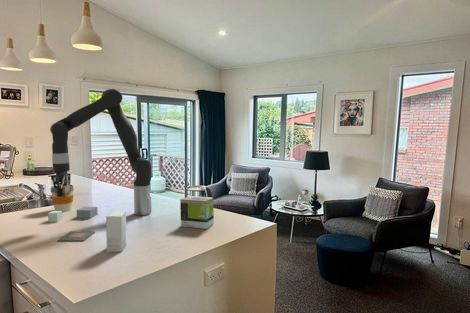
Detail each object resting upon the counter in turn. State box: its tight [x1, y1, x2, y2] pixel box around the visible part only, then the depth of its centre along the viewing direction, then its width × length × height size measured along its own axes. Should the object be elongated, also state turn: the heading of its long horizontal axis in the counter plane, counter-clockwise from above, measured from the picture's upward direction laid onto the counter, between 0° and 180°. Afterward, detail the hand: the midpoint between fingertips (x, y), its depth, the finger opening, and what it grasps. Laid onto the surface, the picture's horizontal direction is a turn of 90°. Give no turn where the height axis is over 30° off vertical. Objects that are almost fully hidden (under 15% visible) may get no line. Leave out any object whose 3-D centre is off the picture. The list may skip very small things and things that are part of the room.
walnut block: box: [55, 184, 71, 197], centre depth 161 cm, size 5×5×5 cm
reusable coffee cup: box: [50, 184, 75, 213], centre depth 195 cm, size 13×13×15 cm
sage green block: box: [47, 210, 63, 223], centre depth 174 cm, size 5×5×5 cm
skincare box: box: [105, 210, 127, 253], centre depth 134 cm, size 8×7×16 cm
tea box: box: [179, 195, 215, 230], centre depth 166 cm, size 15×10×15 cm
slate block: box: [76, 206, 99, 220], centre depth 182 cm, size 8×8×5 cm
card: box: [56, 230, 96, 242], centre depth 149 cm, size 12×12×1 cm
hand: (62, 194), depth 161 cm, fingers closed on walnut block, 5 cm apart
